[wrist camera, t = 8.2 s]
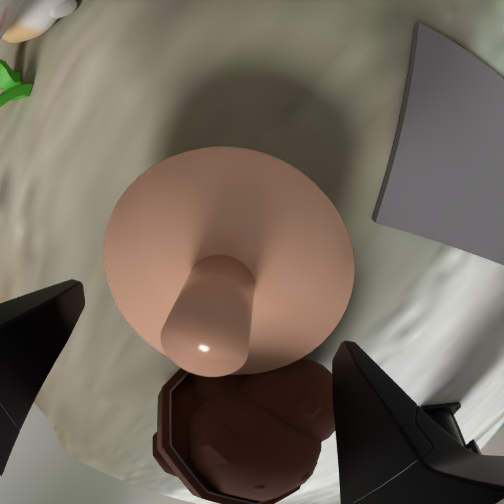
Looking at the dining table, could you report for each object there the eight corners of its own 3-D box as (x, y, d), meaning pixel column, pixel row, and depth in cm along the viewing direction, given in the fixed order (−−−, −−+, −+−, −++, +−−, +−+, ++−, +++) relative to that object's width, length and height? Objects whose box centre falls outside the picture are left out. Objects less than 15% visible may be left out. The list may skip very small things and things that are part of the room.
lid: (381, 182, 10) (442, 215, 6) (307, 376, 14) (314, 445, 10) (118, 132, 10) (44, 141, 6) (118, 336, 14) (83, 395, 10)
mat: (536, 114, 10) (541, 115, 10) (499, 261, 15) (503, 265, 14) (414, 24, 10) (419, 22, 9) (371, 218, 15) (375, 222, 14)
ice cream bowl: (144, 372, 22) (238, 267, 15) (246, 423, 25) (371, 356, 18) (99, 473, 13) (175, 464, 6) (227, 518, 16) (387, 502, 8)
